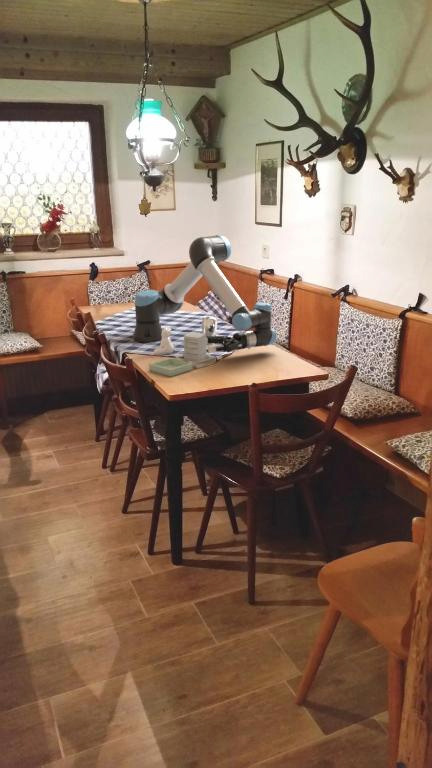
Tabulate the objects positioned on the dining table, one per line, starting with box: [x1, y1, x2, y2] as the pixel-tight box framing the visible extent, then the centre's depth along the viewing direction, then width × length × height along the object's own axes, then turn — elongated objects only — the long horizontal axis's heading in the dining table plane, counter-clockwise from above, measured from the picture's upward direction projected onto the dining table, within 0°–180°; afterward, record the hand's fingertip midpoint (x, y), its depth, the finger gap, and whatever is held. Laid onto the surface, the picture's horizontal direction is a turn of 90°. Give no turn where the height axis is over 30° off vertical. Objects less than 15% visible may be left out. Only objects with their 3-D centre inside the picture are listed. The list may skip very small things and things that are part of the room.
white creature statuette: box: [153, 326, 175, 356], centre depth 272 cm, size 10×9×12 cm
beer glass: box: [201, 315, 218, 351], centre depth 277 cm, size 7×7×15 cm
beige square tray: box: [174, 354, 217, 370], centre depth 257 cm, size 13×13×2 cm
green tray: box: [148, 357, 194, 378], centre depth 247 cm, size 13×13×3 cm
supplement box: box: [183, 331, 207, 363], centre depth 255 cm, size 7×7×13 cm
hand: (201, 346), depth 256 cm, fingers open, 13 cm apart
